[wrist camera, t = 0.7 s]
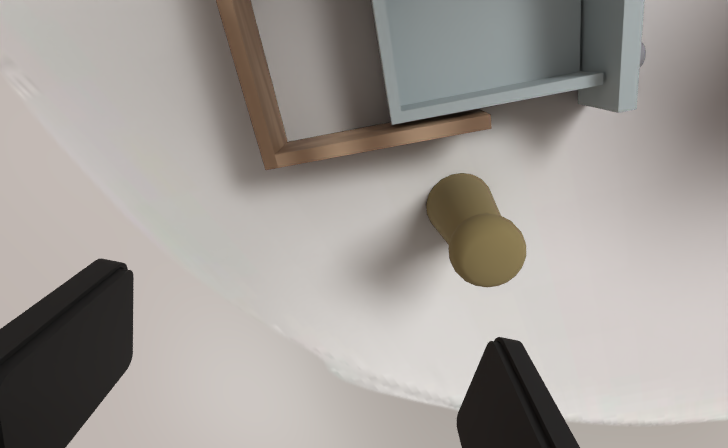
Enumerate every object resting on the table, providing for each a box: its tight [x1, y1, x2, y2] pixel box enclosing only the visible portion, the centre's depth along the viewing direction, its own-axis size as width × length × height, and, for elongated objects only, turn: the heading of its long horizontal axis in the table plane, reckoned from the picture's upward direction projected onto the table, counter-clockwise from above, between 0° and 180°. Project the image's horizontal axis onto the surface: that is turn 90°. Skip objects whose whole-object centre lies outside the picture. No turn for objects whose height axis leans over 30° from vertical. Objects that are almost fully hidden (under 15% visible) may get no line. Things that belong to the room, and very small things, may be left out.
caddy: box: [216, 0, 491, 170], centre depth 28 cm, size 17×17×5 cm
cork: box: [426, 173, 526, 287], centre depth 31 cm, size 6×6×11 cm
